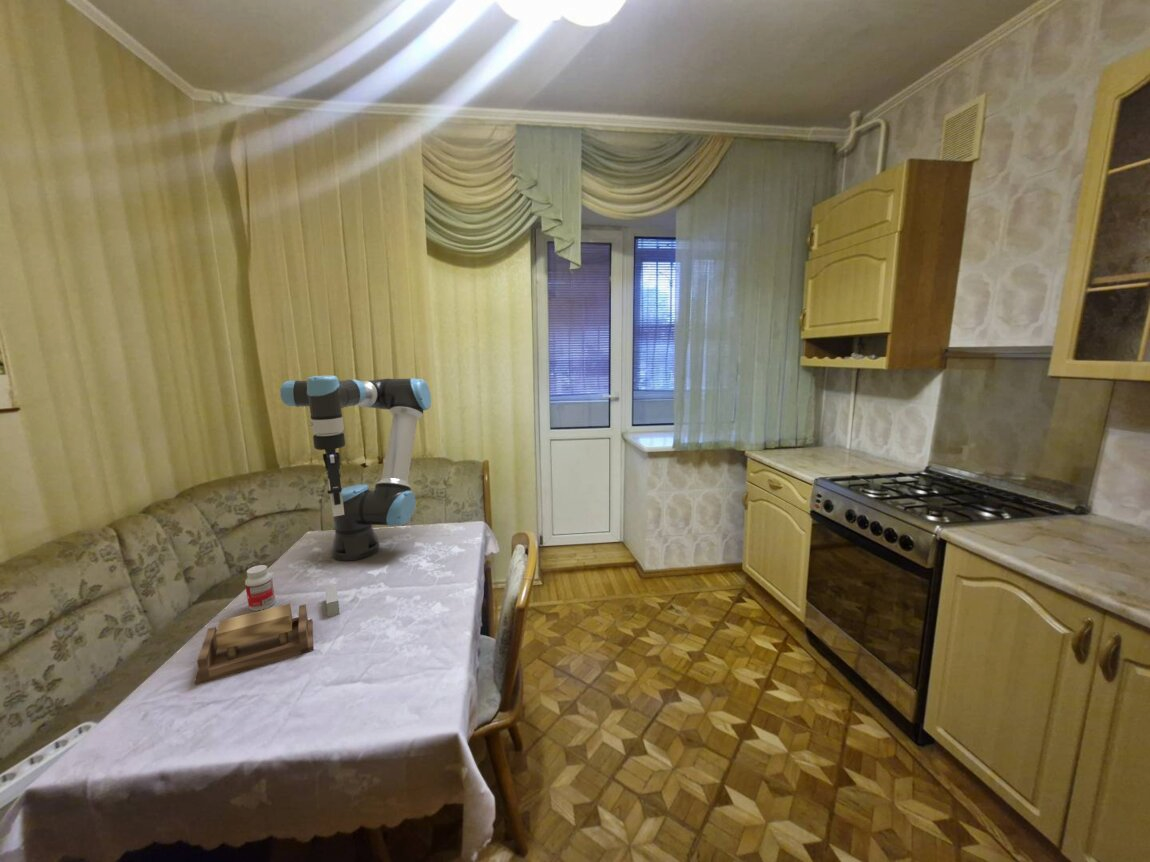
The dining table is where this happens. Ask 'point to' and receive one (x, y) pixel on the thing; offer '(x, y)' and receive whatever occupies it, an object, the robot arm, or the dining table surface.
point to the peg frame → (253, 650)
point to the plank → (254, 626)
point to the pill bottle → (259, 588)
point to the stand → (332, 600)
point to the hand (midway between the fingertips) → (337, 507)
